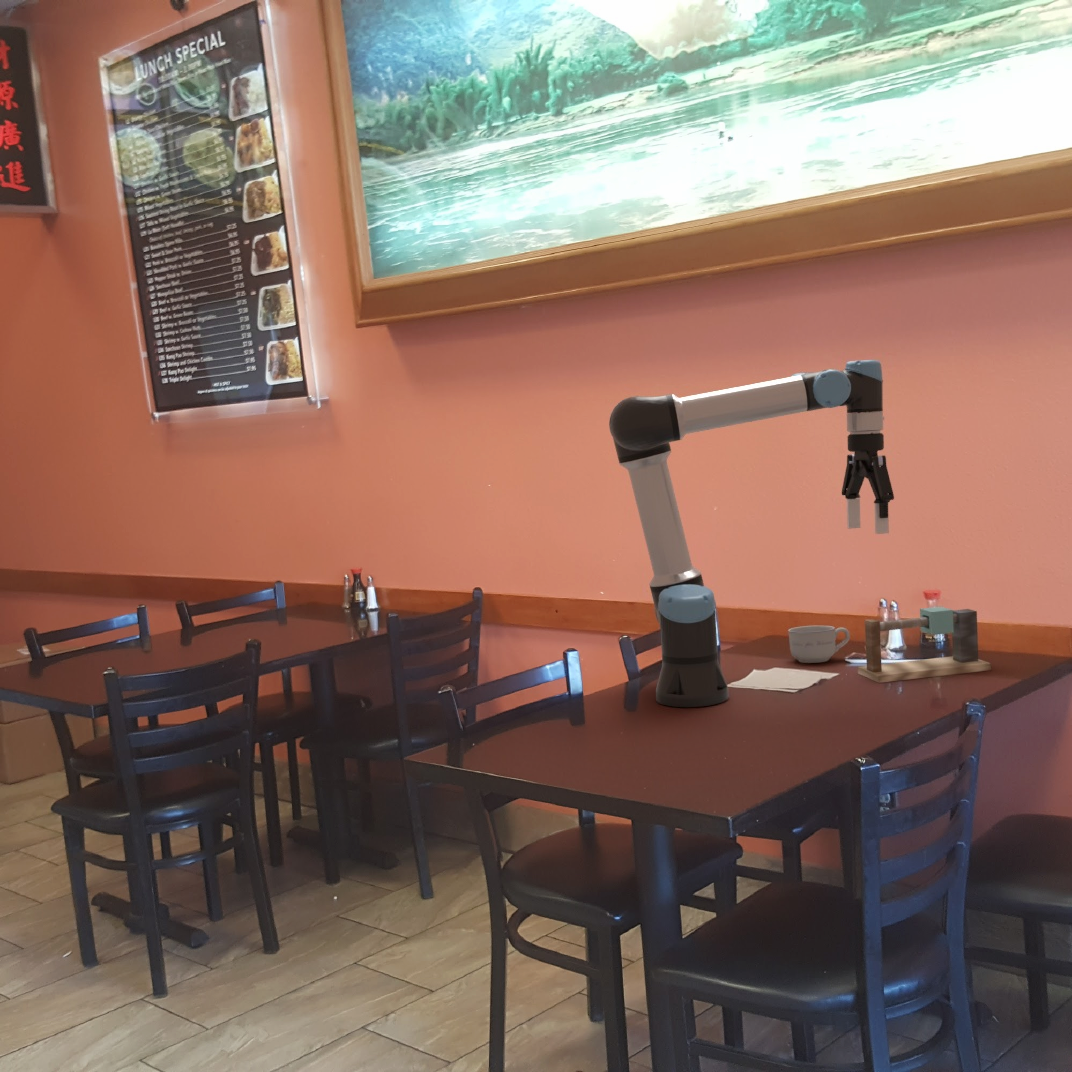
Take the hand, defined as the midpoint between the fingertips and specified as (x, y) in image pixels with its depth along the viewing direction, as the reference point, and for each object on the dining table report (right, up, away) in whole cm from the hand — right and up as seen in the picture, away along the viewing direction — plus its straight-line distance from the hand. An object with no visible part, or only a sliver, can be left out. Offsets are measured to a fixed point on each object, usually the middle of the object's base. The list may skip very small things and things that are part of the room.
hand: (867, 530), depth 260 cm
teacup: (-6, -31, +20) cm, 37 cm away
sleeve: (+16, -22, +2) cm, 27 cm away
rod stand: (+13, -31, +2) cm, 33 cm away
